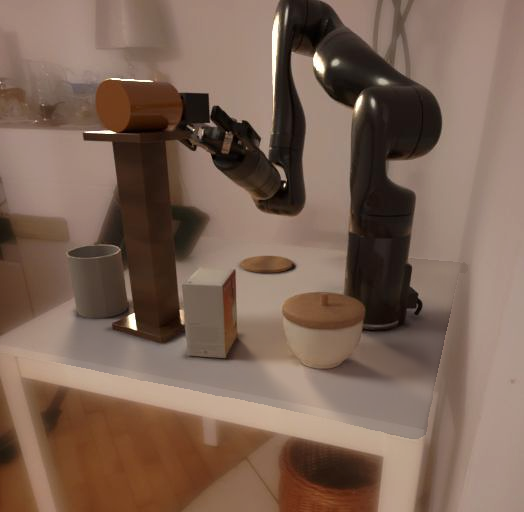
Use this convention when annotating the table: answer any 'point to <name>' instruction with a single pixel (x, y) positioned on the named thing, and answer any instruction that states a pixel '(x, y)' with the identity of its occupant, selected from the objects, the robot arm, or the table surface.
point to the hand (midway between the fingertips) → (190, 111)
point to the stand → (147, 230)
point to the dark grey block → (195, 108)
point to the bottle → (138, 105)
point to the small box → (210, 311)
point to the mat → (267, 264)
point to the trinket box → (322, 327)
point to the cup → (98, 280)
